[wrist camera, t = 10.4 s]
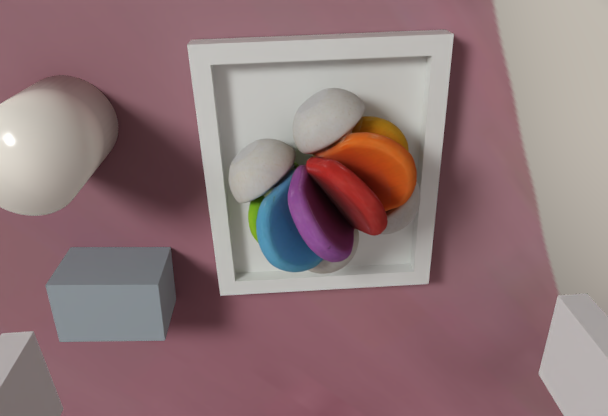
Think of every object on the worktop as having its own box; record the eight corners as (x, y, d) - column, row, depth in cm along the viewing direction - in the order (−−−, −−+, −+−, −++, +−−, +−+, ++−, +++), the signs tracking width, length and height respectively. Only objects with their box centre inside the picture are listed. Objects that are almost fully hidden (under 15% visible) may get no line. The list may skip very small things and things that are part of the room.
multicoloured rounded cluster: (433, 176, 30) (477, 242, 23) (300, 264, 32) (307, 346, 25) (350, 58, 26) (376, 96, 20) (208, 166, 28) (190, 231, 22)
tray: (191, 39, 26) (187, 44, 25) (445, 29, 26) (453, 33, 25) (222, 282, 33) (220, 295, 31) (422, 271, 33) (428, 283, 32)
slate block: (71, 246, 31) (45, 285, 28) (171, 246, 31) (158, 284, 28) (82, 298, 33) (59, 341, 29) (176, 298, 33) (164, 340, 30)
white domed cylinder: (9, 77, 26) (-58, 111, 21) (107, 73, 26) (66, 106, 21) (36, 167, 29) (-19, 218, 23) (126, 162, 29) (92, 212, 23)
